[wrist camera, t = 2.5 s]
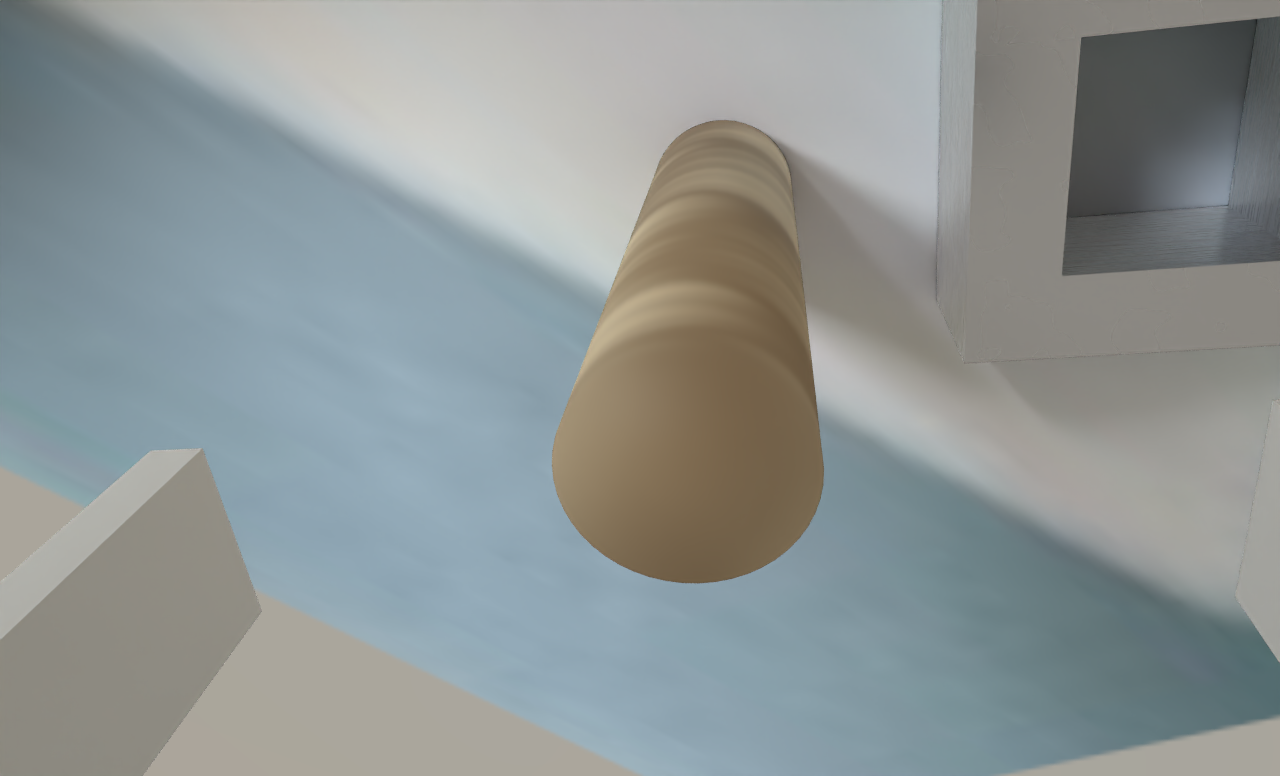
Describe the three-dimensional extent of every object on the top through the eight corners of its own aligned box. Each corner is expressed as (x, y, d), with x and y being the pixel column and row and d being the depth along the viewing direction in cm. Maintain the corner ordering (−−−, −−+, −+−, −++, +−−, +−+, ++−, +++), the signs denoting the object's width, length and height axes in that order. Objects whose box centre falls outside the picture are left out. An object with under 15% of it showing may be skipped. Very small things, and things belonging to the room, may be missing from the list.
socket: (936, 299, 26) (964, 363, 22) (943, -68, 22) (979, -62, 18) (1300, 274, 24) (1392, 338, 21) (1379, -122, 20) (1511, -127, 17)
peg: (661, 259, 26) (573, 586, 14) (646, 127, 24) (530, 360, 12) (794, 249, 25) (828, 580, 13) (787, 113, 24) (818, 341, 12)
